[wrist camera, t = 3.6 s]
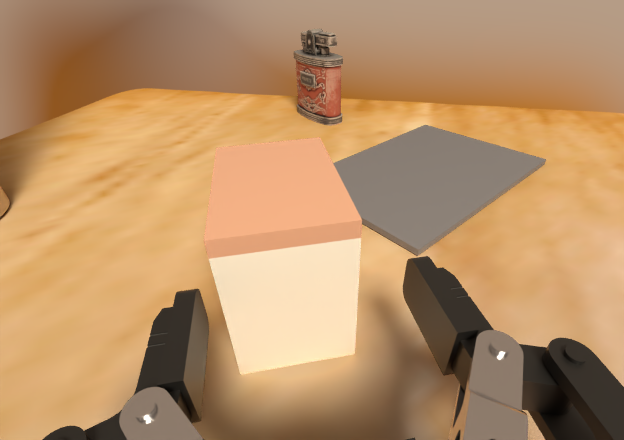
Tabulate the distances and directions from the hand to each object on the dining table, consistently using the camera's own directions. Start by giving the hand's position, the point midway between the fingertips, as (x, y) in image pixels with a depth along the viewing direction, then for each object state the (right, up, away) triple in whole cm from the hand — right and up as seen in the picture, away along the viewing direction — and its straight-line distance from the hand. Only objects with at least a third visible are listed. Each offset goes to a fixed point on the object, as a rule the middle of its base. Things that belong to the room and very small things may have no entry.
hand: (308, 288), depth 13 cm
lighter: (+1, +16, +32) cm, 36 cm away
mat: (+10, +7, +18) cm, 22 cm away
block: (-1, -2, +6) cm, 7 cm away
